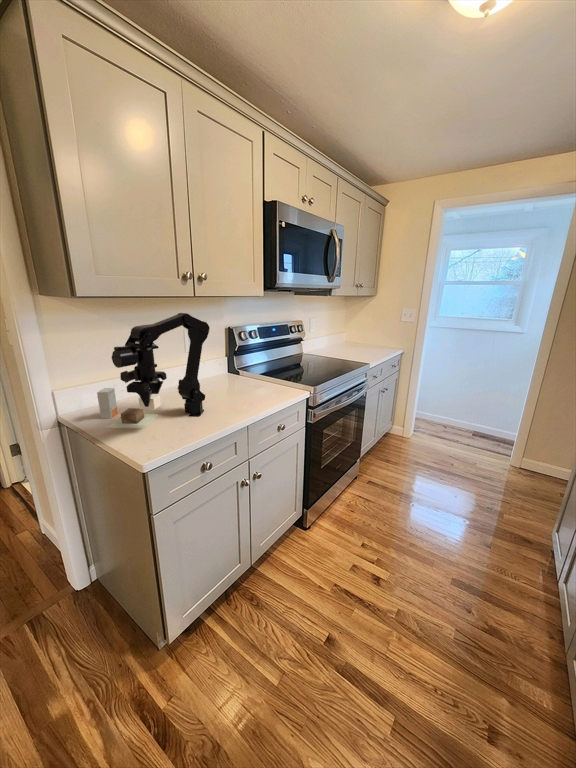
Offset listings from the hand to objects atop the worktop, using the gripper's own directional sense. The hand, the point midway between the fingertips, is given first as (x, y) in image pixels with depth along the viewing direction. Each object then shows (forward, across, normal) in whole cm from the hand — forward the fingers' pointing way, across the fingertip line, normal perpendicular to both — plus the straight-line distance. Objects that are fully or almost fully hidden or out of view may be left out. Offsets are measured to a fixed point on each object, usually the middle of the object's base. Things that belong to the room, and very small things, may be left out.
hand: (150, 403), depth 116 cm
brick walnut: (+10, -6, -11) cm, 16 cm away
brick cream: (+1, 0, 0) cm, 1 cm away
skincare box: (+11, -10, -23) cm, 27 cm away
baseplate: (+10, -6, -11) cm, 16 cm away
